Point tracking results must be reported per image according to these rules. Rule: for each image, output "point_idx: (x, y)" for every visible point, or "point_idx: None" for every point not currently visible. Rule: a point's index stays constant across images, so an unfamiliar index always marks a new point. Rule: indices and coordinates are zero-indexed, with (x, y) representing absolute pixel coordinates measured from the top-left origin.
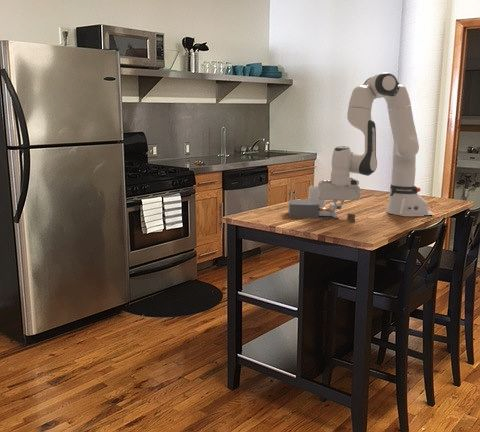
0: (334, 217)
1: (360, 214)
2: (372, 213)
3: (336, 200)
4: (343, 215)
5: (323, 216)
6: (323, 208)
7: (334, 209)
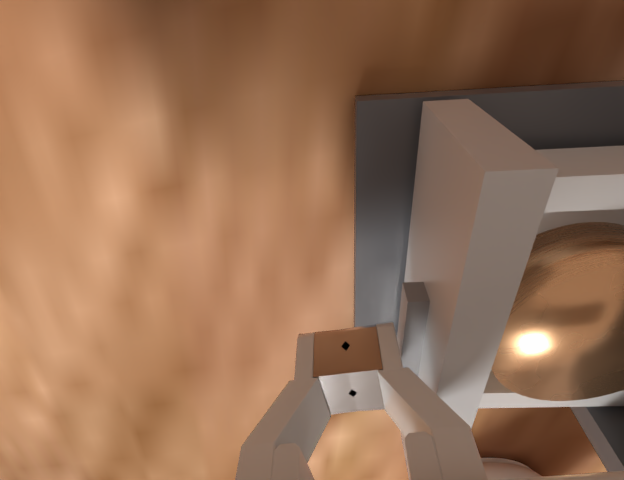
0: (418, 118)
1: (109, 380)
2: (22, 421)
3: (422, 473)
4: (271, 322)
5: None
6: (603, 316)
7: (482, 146)
